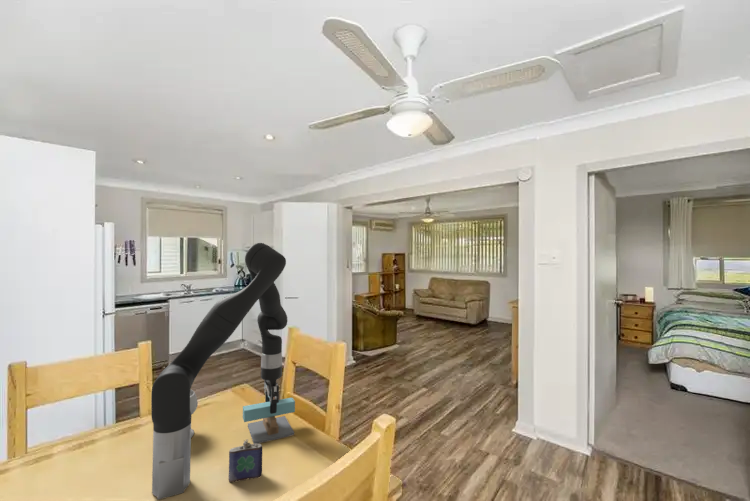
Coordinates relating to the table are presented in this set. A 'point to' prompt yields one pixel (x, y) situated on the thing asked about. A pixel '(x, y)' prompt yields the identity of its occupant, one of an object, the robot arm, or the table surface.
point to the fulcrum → (270, 429)
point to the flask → (245, 462)
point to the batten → (267, 409)
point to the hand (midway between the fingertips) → (270, 408)
